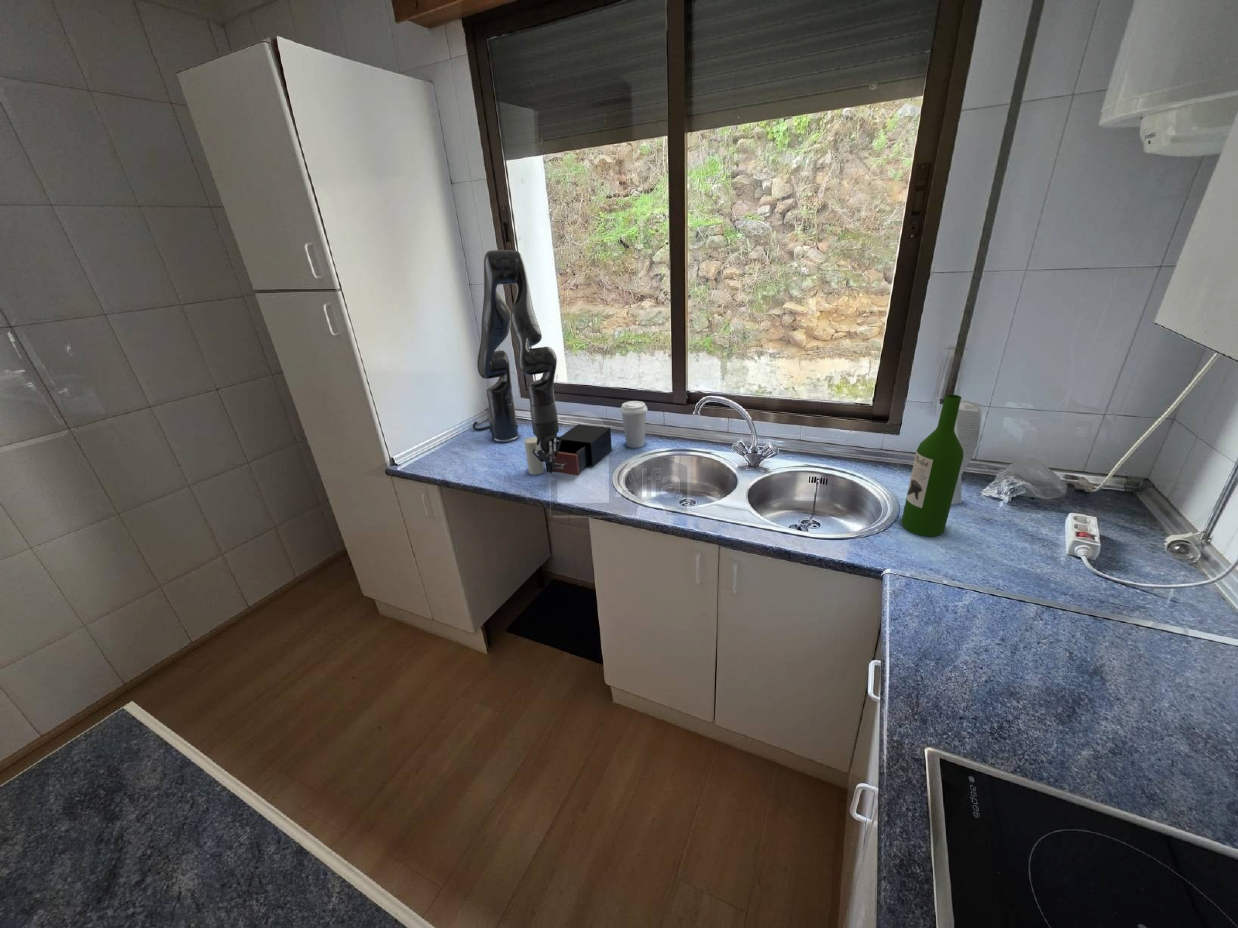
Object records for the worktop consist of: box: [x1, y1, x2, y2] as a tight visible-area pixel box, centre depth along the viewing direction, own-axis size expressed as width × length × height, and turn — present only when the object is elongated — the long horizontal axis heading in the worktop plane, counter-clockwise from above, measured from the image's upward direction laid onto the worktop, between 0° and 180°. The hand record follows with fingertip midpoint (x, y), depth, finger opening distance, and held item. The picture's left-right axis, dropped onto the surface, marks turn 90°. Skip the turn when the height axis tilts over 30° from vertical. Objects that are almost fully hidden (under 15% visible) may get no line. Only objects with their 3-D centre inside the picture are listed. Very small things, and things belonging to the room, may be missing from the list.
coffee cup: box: [619, 400, 648, 449], centre depth 172 cm, size 10×10×15 cm
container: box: [523, 436, 545, 476], centre depth 156 cm, size 5×5×11 cm
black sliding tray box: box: [559, 423, 613, 468], centre depth 165 cm, size 15×13×9 cm
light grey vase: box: [951, 398, 982, 506], centre depth 122 cm, size 8×8×28 cm
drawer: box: [553, 441, 590, 476], centre depth 156 cm, size 18×11×7 cm, turn 155°
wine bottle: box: [900, 394, 963, 538], centre depth 110 cm, size 9×9×32 cm
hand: (550, 471), depth 148 cm, fingers closed
